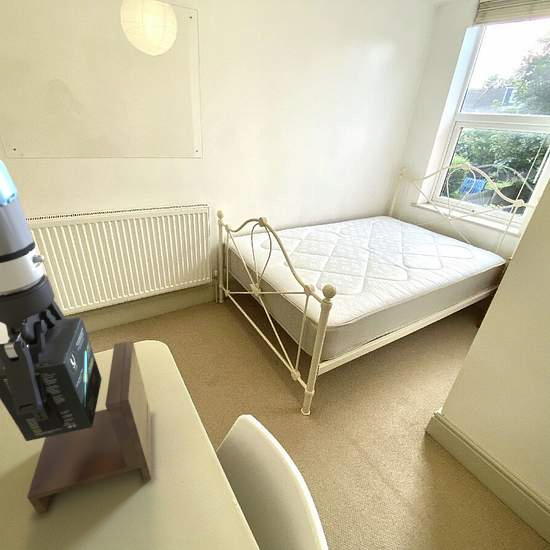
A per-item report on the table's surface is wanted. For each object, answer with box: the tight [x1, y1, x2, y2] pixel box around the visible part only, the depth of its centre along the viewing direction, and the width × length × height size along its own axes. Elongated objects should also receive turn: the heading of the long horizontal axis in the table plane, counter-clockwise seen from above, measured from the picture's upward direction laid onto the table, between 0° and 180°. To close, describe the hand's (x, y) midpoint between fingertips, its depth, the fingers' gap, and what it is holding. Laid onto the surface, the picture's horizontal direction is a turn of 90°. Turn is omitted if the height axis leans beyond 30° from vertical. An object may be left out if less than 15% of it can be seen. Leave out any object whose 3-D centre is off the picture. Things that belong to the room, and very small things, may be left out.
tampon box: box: [0, 316, 103, 442], centre depth 49 cm, size 11×9×15 cm
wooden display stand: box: [26, 340, 152, 515], centre depth 55 cm, size 18×14×23 cm
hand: (62, 396), depth 51 cm, fingers closed on tampon box, 11 cm apart
